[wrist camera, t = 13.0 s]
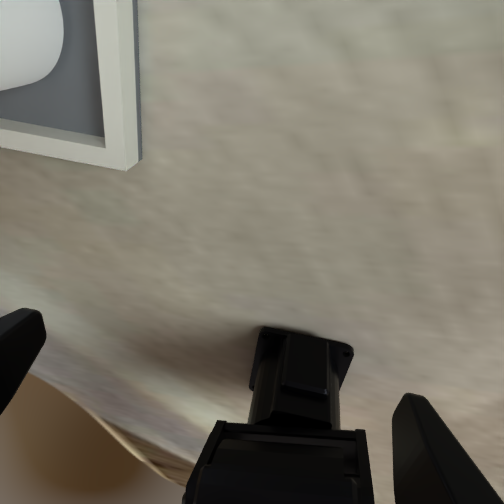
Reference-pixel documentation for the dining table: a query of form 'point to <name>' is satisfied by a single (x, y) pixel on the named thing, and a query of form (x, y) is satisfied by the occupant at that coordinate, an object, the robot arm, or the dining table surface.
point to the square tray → (83, 91)
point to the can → (29, 40)
